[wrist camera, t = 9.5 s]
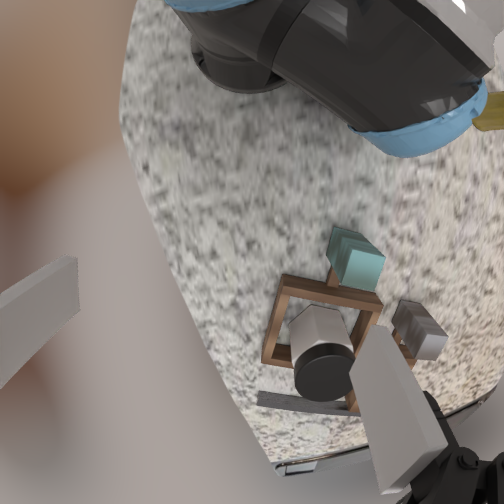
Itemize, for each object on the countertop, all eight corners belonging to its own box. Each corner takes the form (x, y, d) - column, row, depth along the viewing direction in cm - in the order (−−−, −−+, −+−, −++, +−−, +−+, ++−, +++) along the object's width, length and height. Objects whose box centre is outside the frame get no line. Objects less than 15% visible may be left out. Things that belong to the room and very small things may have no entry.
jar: (312, 359, 46) (320, 412, 35) (277, 331, 45) (278, 384, 33) (354, 325, 44) (375, 375, 32) (321, 293, 42) (336, 340, 31)
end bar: (259, 390, 49) (258, 399, 47) (383, 403, 49) (386, 412, 47) (257, 396, 49) (256, 405, 47) (379, 408, 49) (382, 417, 47)
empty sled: (392, 298, 42) (417, 332, 32) (428, 305, 42) (457, 337, 32) (345, 396, 48) (354, 437, 39) (379, 399, 48) (392, 437, 39)
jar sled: (296, 218, 39) (304, 237, 30) (393, 242, 39) (423, 267, 30) (262, 347, 46) (259, 390, 36) (346, 361, 46) (359, 402, 36)
